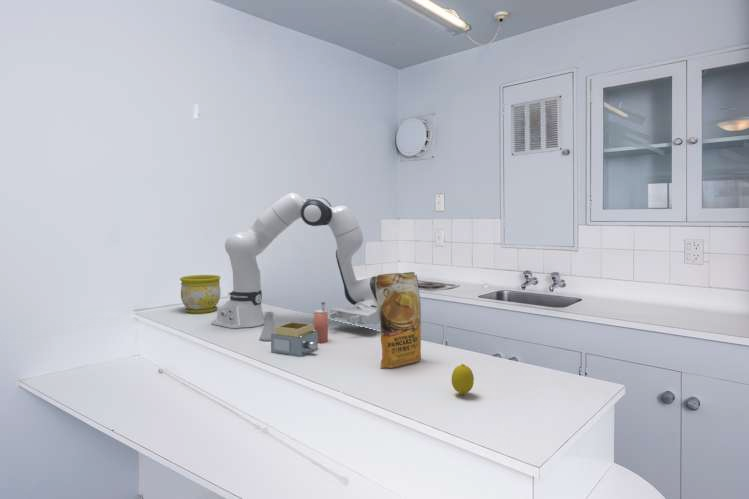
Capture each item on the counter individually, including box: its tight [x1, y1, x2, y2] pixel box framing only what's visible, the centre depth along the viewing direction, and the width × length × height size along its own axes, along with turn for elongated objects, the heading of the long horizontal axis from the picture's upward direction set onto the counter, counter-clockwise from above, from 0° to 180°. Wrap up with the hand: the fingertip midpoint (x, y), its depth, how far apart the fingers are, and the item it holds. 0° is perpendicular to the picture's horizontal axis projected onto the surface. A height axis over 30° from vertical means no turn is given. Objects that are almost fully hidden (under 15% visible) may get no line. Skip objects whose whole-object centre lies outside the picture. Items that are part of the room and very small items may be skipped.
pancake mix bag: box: [375, 271, 422, 369], centre depth 145 cm, size 7×19×28 cm, turn 127°
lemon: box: [451, 363, 475, 396], centre depth 119 cm, size 6×6×8 cm
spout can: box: [313, 301, 329, 344], centre depth 170 cm, size 5×5×14 cm
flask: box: [258, 311, 276, 342], centre depth 173 cm, size 7×7×10 cm
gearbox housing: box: [270, 321, 319, 357], centre depth 158 cm, size 15×10×8 cm
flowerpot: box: [179, 274, 221, 315], centre depth 224 cm, size 18×18×16 cm
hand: (339, 318), depth 178 cm, fingers open, 8 cm apart
